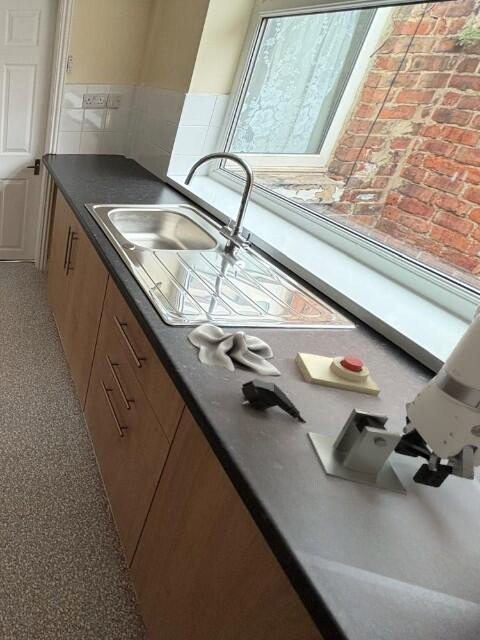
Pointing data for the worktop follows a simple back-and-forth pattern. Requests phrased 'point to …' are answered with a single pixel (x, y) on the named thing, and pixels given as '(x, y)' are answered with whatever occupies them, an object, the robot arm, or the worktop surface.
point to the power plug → (268, 397)
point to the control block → (335, 374)
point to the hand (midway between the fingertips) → (415, 467)
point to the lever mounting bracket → (360, 452)
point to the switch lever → (417, 449)
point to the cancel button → (352, 363)
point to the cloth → (232, 350)
